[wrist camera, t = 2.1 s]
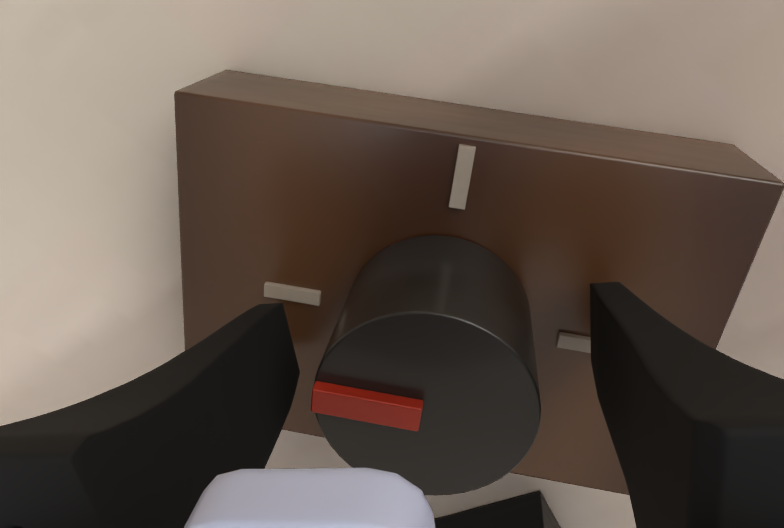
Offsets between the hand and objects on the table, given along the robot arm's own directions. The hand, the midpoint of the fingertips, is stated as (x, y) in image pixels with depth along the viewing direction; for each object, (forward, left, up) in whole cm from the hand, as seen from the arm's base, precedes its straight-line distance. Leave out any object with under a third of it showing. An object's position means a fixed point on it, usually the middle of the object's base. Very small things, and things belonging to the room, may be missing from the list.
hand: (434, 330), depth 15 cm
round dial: (0, 0, -1) cm, 1 cm away
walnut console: (0, 0, -4) cm, 4 cm away
